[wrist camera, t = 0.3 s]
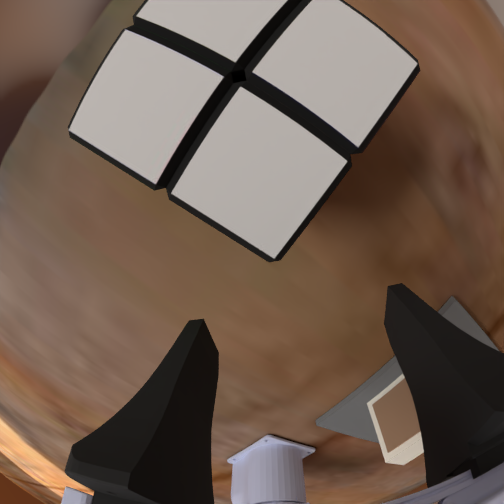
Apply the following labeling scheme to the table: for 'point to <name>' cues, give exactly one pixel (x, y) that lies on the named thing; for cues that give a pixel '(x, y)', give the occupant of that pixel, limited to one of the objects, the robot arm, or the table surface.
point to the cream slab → (396, 423)
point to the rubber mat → (388, 383)
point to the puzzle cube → (244, 107)
